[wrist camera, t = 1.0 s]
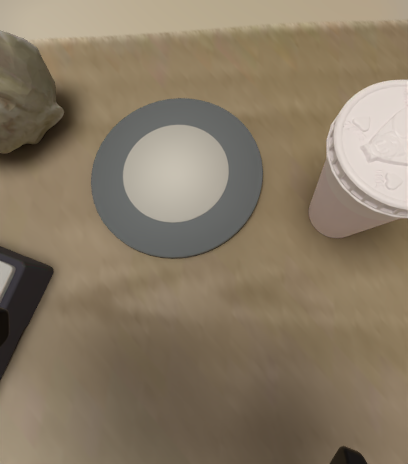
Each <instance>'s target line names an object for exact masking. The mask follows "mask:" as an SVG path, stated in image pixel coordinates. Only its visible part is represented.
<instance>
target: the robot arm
mask: <svg viewBox="0 0 408 464" xmlns="http://www.w3.org/2000/svg"><path fill="white" fill-rule="evenodd" d="M8 336H9V312H8V311H7V310H6V309H4V308H1V307H0V347H1V346H2V345H3V344H4V343H5V341H6V340H7V338H8ZM330 464H367V462H366V460H365V459H364V457H363V456H362V455H361V453H359V452H358V451H355V450H353V449H350V448H348V447H345V446H342V447H340V448H339V449H338V451H337V453H336V454H335V456H334V457H333V459H332V461H331V462H330Z"/></svg>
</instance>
